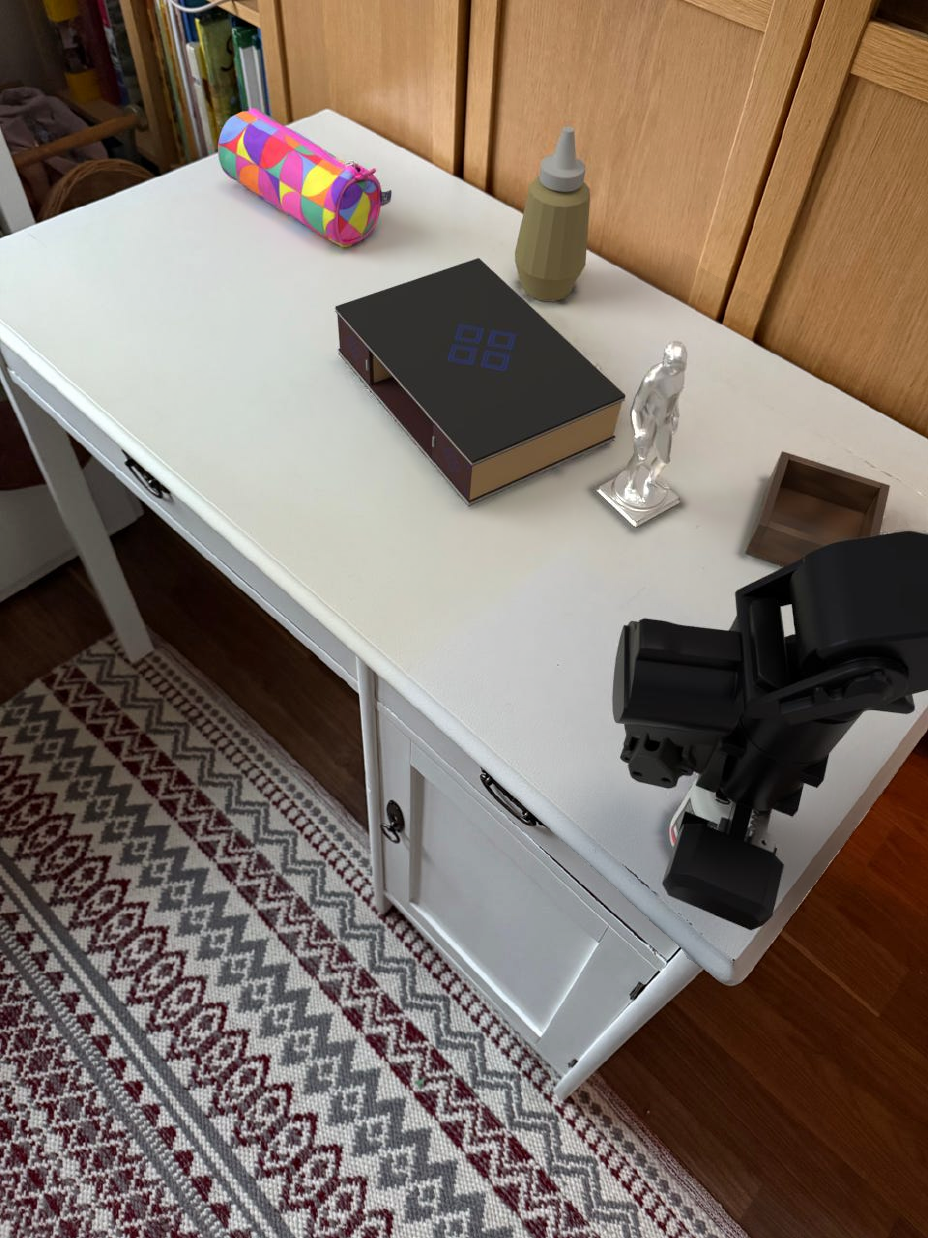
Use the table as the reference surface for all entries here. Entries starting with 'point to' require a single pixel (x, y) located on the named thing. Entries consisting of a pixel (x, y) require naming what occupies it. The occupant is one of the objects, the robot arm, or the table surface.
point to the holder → (813, 509)
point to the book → (477, 378)
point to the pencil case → (301, 177)
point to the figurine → (650, 441)
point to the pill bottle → (700, 809)
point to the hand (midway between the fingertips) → (713, 825)
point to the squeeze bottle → (554, 225)
